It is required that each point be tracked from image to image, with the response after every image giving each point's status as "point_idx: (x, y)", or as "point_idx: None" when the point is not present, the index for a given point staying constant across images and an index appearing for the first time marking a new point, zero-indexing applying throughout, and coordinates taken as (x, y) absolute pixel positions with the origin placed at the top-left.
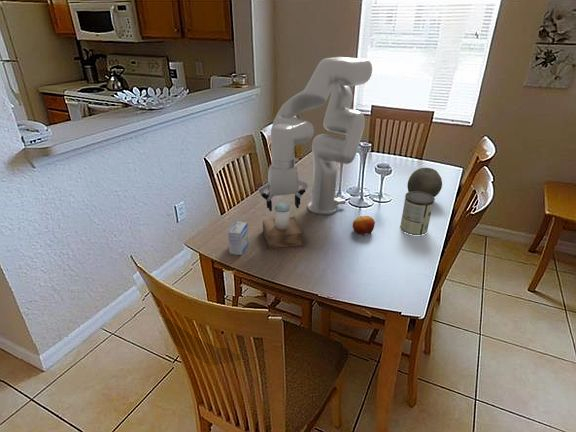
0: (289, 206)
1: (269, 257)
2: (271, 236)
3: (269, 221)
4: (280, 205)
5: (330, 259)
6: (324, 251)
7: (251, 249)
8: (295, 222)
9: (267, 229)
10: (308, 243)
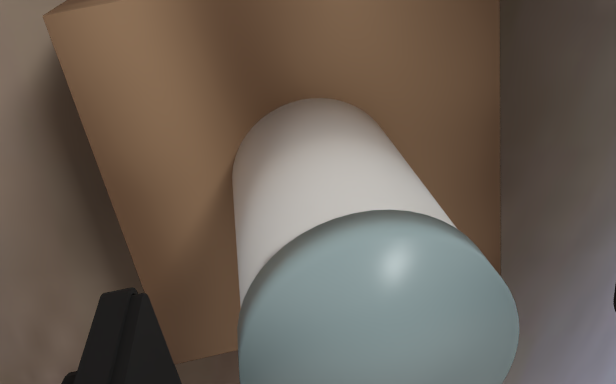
0: (509, 356)
1: (194, 375)
2: (200, 355)
3: (150, 69)
4: (350, 339)
5: (587, 362)
6: (585, 289)
7: (33, 299)
8: (481, 92)
9: (146, 252)
10: (506, 199)
